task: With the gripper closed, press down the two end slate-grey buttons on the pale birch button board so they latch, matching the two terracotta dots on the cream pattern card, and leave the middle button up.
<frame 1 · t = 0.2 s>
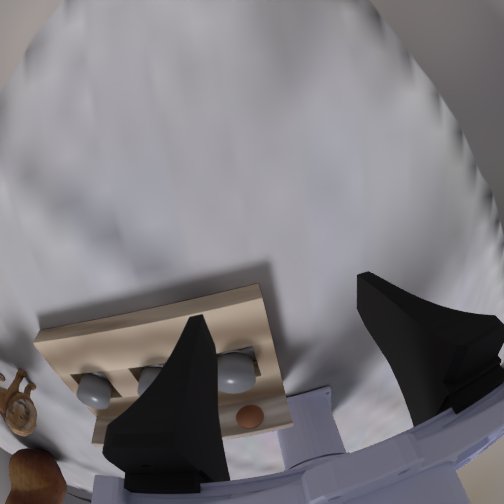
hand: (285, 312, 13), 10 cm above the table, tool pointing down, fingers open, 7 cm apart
button middle: (157, 386, 25), point 3 cm above the table, slide at 0.0 cm
button end a: (234, 373, 25), point 3 cm above the table, slide at 0.0 cm
button end b: (94, 392, 25), point 3 cm above the table, slide at 0.0 cm
button board: (159, 364, 27), on the table
butternut squash: (44, 452, 38), on the table
lion figurine: (11, 370, 27), on the table
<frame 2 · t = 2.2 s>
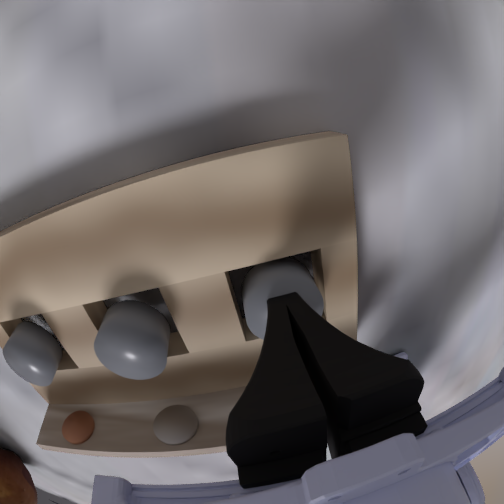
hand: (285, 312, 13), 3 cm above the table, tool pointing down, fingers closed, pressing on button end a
button middle: (133, 341, 13), point 3 cm above the table, slide at 0.0 cm
button end a: (281, 300, 14), point 2 cm above the table, slide at 0.7 cm, touching gripper
button end b: (32, 354, 13), point 3 cm above the table, slide at 0.0 cm
button board: (142, 307, 16), on the table
butternut squash: (11, 453, 27), on the table
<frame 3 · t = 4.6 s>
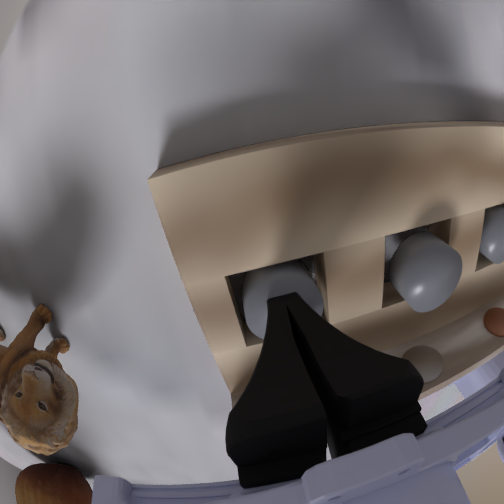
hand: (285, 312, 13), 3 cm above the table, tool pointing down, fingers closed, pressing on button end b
button middle: (426, 271, 13), point 3 cm above the table, slide at 0.0 cm
button end a: (496, 232, 14), point 2 cm above the table, slide at 1.1 cm
button end b: (281, 299, 14), point 2 cm above the table, slide at 1.1 cm, touching gripper
button board: (399, 247, 16), on the table
butternut squash: (67, 467, 27), on the table
lion figurine: (21, 314, 15), on the table
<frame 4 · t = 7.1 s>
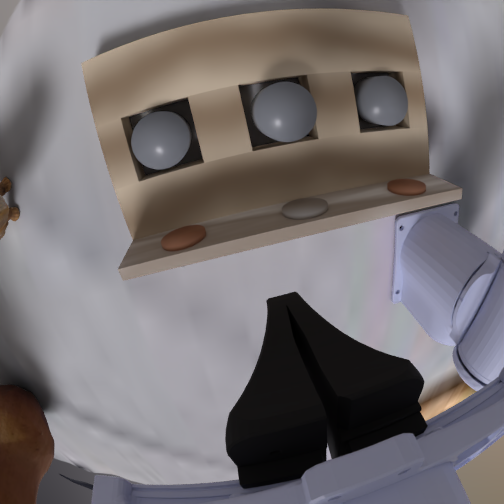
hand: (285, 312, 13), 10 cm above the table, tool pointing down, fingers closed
button middle: (282, 111, 16), point 3 cm above the table, slide at 0.0 cm
button end a: (380, 100, 17), point 2 cm above the table, slide at 1.1 cm
button end b: (162, 139, 17), point 2 cm above the table, slide at 1.1 cm
button board: (273, 111, 19), on the table
butternut squash: (27, 397, 30), on the table
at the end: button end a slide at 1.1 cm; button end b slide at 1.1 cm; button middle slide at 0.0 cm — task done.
